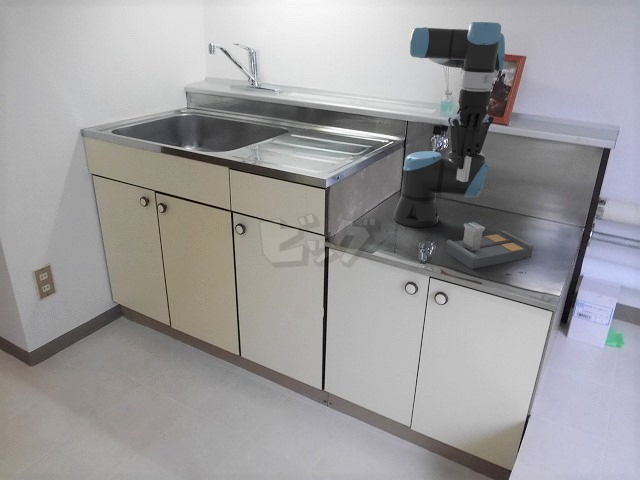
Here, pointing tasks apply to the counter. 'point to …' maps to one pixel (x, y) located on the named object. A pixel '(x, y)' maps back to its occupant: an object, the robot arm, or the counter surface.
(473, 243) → the fader knob
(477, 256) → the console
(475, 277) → the counter surface
